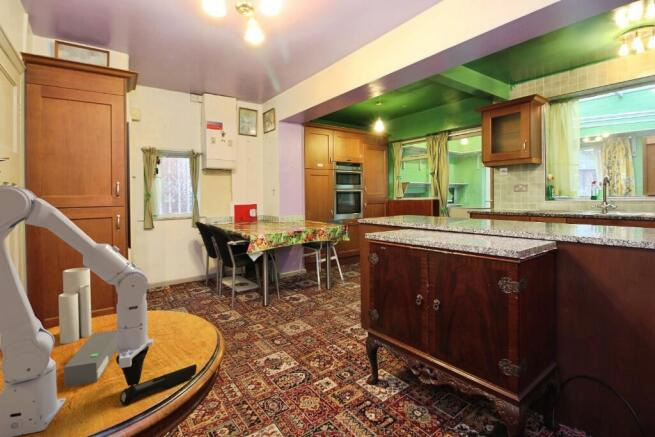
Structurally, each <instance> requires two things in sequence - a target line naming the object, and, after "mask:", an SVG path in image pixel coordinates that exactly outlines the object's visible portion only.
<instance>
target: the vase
mask: <svg viewBox="0 0 655 437" xmlns="http://www.w3.org/2000/svg"><path fill="white" fill-rule="evenodd" d="M62 283H63V284H62V286H63V287H62V288H63V289H62V291H63V293H61V294H58V318H59V319H58V321H59V322H58V324H59V325H58V327H59V343H60V344H62V345H66V344H71V343H75V342H77V341H79V339H80V338H88V337H89V338H90V337H91V335H92V303H91V302H92V301H91V300H92V298H91V297H92V296H91V270H90V269H89V268H87V267H78V268H77V267H76V268H69V269H64V270H62Z"/></svg>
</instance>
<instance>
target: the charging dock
mask: <svg viewBox="0 0 655 437" xmlns="http://www.w3.org/2000/svg"><path fill="white" fill-rule="evenodd" d="M116 346H117V329H114V330H105V331H104V330H103V331H97V332H93V333H91V336H89V338H88V339H87V340H86V341H85V342H84V344H83V345H82V346H81V347H80V348H79V349H78V350H77V352H76V353H75V354H74V355H73V356H72V357H71V358H70V360H69V361H68V362H67V363H66V364H65V366H64V367H63V373H64V374H63V375H64V376H63V377H64V381H63V382H64V387H65V388H67V387H72V386H78V385H85V384H92V383H98V380H99V379H100V377H101V376H102V374H103V373H104V371H105V369H106V367H107V366H108V364H109V362H110V361H111V359H112V358H113V356H114V354H115V352H117V350H116Z"/></svg>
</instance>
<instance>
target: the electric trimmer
mask: <svg viewBox="0 0 655 437" xmlns="http://www.w3.org/2000/svg"><path fill="white" fill-rule="evenodd" d="M197 367H198V366H197V364H192V365H191V364H190V365H189V366H186V367H183V368H180V369H178V370H174V371H171V372H169V373H165V374H163V375H161V376H156V377H154V378H151V379H148V380H147V381H143V382H139V384H136V385H131V386H129V387H126V388H124V389H123V390H122V392H121V394H120V396H119V401H120V404H121V406H129V405H131V403H132V402H133V401H136V400H138V399H141V398H143V397H146V396H148V395H150V394H153V393H156V392H158V391H160V390H163V389H170V388H172V387H175V386H176V385H178V384H180V383H183V382H184V381H186V380H188V379H190V378H192V377H194V376H195V375H196V373H197Z"/></svg>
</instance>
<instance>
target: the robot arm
mask: <svg viewBox="0 0 655 437" xmlns="http://www.w3.org/2000/svg"><path fill="white" fill-rule="evenodd" d="M23 221H24V224H25V225H30V226H34V227H40V228H44V229H48V231H50V232H52V234H54V235H55V236H57V237H58V238H59V239H61V240H63V241H64V242H65V243H67V244H68V245H69V246H71V247H72V248H73V249H75V251H77V252H79V253H80V254H81V255H82V265H83V266H84V267H85V268H89V269H90V272H93V273H94V275H96V276H98V277H99V278H100V279H101V280H103V281H104V282H106V283H107V284H108V285H113V286H115V292H116V294H117V303H116V330H117V346H116V352H117V356H116V358H115V362H116V364H117V365H118V368H119V369H121V370H122V372H123V373H122V374H123V375H124V378H125V382H126V384H127V386H129V387H130V386H131V385H137V384H140V381H141V378H142V373H143V367H144V362H145V359H146V356H147V354H148V352H149V350H150V347H149V346H153V345H154V342H155V341H154V340H155V339H154V338H148V334H149V333H148V301H147V292H148V290H149V287H150V283H149V281H148V278H147V276H146V275H145V273H144V272H143V271H142V270H141V268H140V267H137V264H136V263H135V262H133V261H132V262H130V261H129V260H128V259H127V258H125V256H123V254H121V253H120V248H119V247H117V246H116V245H113V246H111V245H110V244H109V243H97V242H96V241H95V240H94V239H92V238H91V237H90V236H89V235H87V234H86V232H84V231H83V230H82V229H81V228H79V226H77V225H76V223H74V222H73V221H72V220H70V219H69V218H68V216H66V215H65V214H64V213H62V212H61V211H60V210H59V209H58V208H57V207H55V206H53V205H52V204H50V203H49V202H48V201H46V200H44V199H43V198H41V197H40V198H39V197H37V196H36V195H35V193H33V191H31V190H30V189H27V188H24V187H19V186H13V185H9V184H8V185H7V184H0V350H1V352H2V362H1V366H0V368H1V372H2V374H3V388H2V391H1V393H0V437H18V436H23V435H28V434H32V433H37V432H41V431H45V430H46V429H47V428H48V427H49V425H50V423H52V421H53V420H54V418H55V416H56V415H57V414H58V412H59V411H60V409H61V408H62V407H63V405H64V404H65V403H66V401H67V398H65V397H64V398H63V397H62V398H58V393H57V392H58V390H57V363H56V361H55V360H54V359H52V357H51V353H52V350H53V348H54V347H55V341H56V340H55V337H54V335H53V334H52V333H51V332H50V331H48V330H46V329H45V328H44V326H43V325H42V322H41V321H40V319H38V318H37V317H36V316H35V312H34V311H33V308H32V306H31V304H30V301H29V298H28V296H27V293H26V292H25V289H24V286H23V284H22V281H21V278H20V276H19V273H18V271H17V269H16V267H15V264H14V261H13V259H12V256H11V255H10V254H11V253H10V252H9V249H8V246H7V245H6V243H5V240H6V238H8V236H9V235H10V233H12V231H14V230H15V228H16V227H17V225H18V224H20V223H21V222H23ZM22 434H23V435H22Z"/></svg>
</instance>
